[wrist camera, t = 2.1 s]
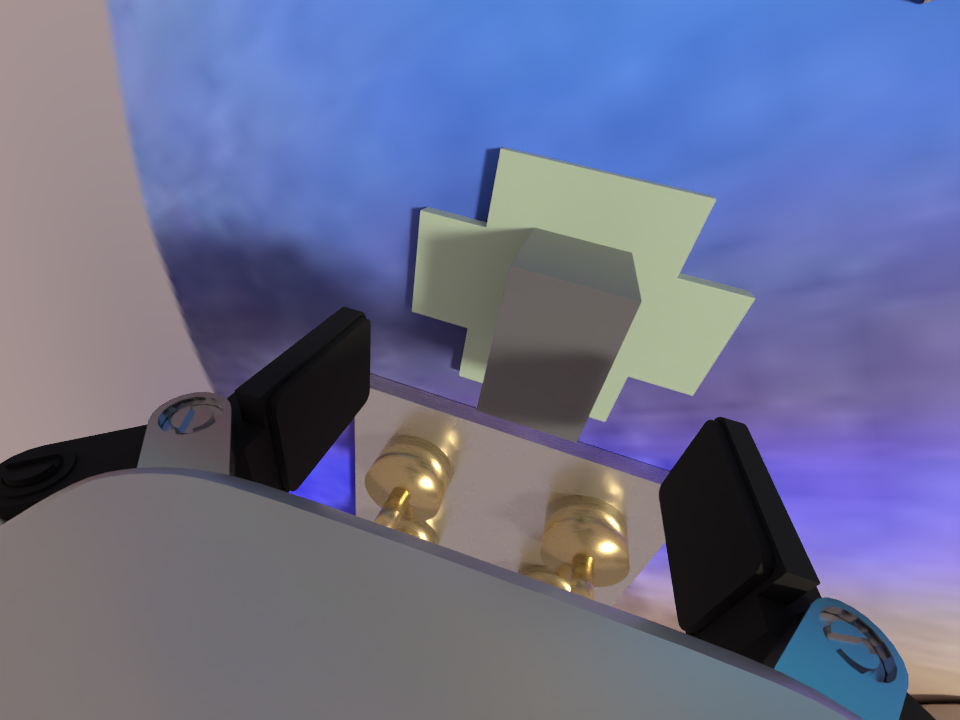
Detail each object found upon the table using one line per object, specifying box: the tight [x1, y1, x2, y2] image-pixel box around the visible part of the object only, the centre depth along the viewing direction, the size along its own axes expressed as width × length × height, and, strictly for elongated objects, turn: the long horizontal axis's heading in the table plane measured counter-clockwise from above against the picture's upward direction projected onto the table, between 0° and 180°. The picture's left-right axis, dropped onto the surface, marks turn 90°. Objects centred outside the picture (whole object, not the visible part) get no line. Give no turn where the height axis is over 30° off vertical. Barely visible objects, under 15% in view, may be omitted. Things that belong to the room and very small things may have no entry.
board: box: [412, 147, 756, 443], centre depth 15 cm, size 14×11×6 cm
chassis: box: [355, 374, 670, 607], centre depth 25 cm, size 20×18×7 cm
